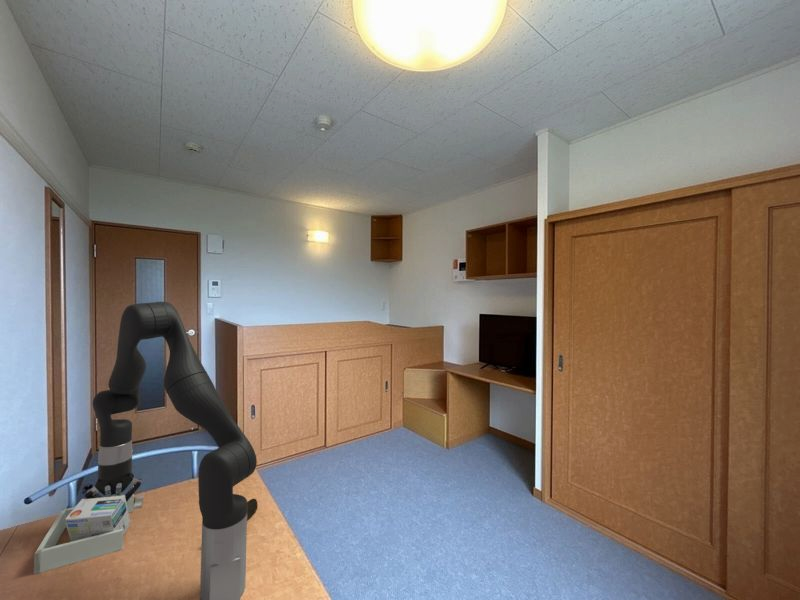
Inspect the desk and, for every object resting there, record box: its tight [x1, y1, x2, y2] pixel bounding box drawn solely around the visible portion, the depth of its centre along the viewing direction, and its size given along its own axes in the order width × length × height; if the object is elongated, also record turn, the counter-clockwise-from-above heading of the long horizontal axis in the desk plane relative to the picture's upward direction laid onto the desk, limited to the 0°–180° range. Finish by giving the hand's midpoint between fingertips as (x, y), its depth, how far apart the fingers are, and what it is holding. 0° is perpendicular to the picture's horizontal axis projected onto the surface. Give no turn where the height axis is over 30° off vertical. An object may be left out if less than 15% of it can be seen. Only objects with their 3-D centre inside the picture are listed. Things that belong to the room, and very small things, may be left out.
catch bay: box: [33, 493, 135, 575], centre depth 94 cm, size 20×16×5 cm
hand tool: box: [247, 498, 258, 522], centre depth 99 cm, size 19×4×5 cm, turn 161°
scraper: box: [133, 495, 145, 510], centre depth 107 cm, size 6×14×2 cm, turn 122°
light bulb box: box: [65, 494, 131, 542], centre depth 91 cm, size 11×7×11 cm, turn 102°
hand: (113, 518), depth 97 cm, fingers closed
